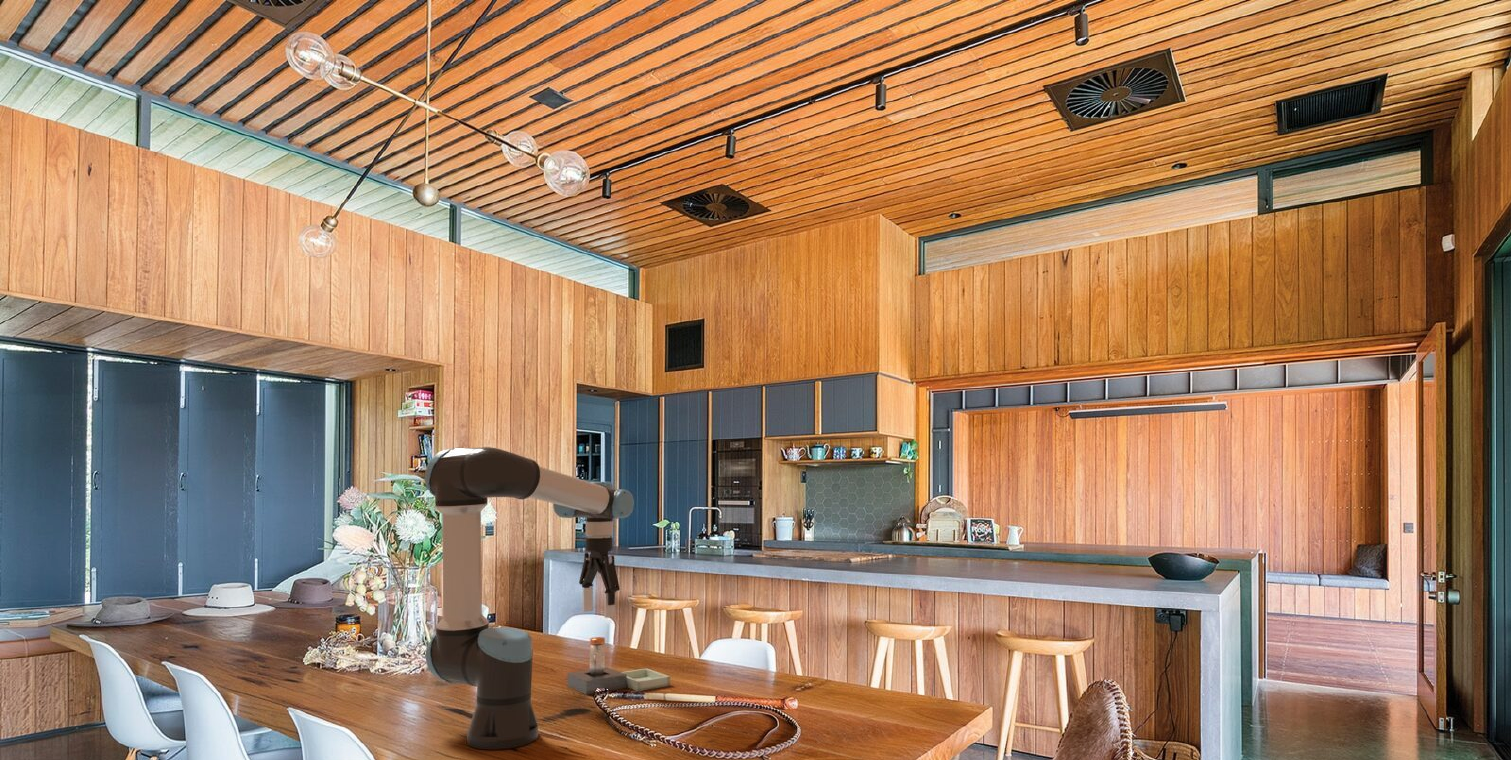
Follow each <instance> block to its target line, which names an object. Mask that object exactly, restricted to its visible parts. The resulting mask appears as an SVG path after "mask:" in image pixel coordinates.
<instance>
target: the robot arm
mask: <svg viewBox="0 0 1511 760" xmlns="http://www.w3.org/2000/svg"><path fill="white" fill-rule="evenodd" d="M424 485H425V488H426V489H427V491H429V493H430V494H431V495H432V496H434V501H435V502H434V503H435V505H434V507H435V508H436V509H437V510H438V511H439V512H440V513H441V515H442V520H441V521H442V523H441V524H442V529H441V531H442V534H441V535H442V618H441V619H440V621H439V622H438V623H437V624H436V625H435V633H433V635H431V637H430V641H429V642H428V643H427V645H426V649H425V663H426V666H427V668H428V671H429V672H430V673H431V674H432V675H433V676H434V677H435V678H436V679H438V680H441V681H444V682H446V683H448V684H454V685H456V684H457V685H463V686H469V687H476V705H475V708H474V711H473V714H472V716H471V721H470V723H469V727H468V729H467V733H466V734H467V735H466V744H467V746H469V747H471V748H474V749H478V750H494V751H495V750H506V749H512V748H513V749H514V748H518V747H523V746H526V745H528V744H531V743H532V742H534V741H536V740H537V739H538V738H539V724H538V721H537V718H536V714H535V711H534V708H533V705H532V704H533V703H532V678H533V657H534V656H533V655H534V654H533V653H534V650H533V644H532V643H533V642H532V641H533V640H532V637H531V635H530V634H529V633H528V632H527V631H526V630H525V631H524V630H522V629H519V628H515V627H503V626H500V627H499V626H498V627H497V626H495V627H490V625H489V623H490V620H489V619H487V618H486V616H484V615H483V604H482V603H483V601H482V599H483V597H482V595H483V593H482V592H483V590H482V588H483V587H482V586H483V585H482V581H483V580H482V520H481V519H482V516H481V515H482V511H483V510H484V509H485V508H486V506H488V498H489V499H490V498H514V499H516V500H517V499H518V500H526V499H529V498H531V499H535V500H539V501H542V502H547V503H550V504H553V505H552V509H553V511H554V513H555V514H556V516H558V517H559V518H563V519H572V518H585V536H586V538H585V551H586V552H585V553H584V556H583V557H584V558H583V559H584V560H583V564H582V568H581V573H580V577H579V582H578V583H579V585H581V587H582V612H583V613H584V612H591V611H593V610H594V609H593V608H594V607H593V606H594V599H593V598H594V584H593V583H594V580H595V578H596V575H597V573H599V574H600V576H601V580H602V583H603V585H604V588H605V590H604V618H606V619H607V618H614V617H616V593H617V592H618V591H620V589H621V588H620V583H619V578H618V573H617V570H616V565H615V556H614V555H609V552H611V551H613V548H614V545H613V544H614V540H613V539H614V538H613V537H612V535H613V531H614V524H613V523H614V519H616V520H618V519H625V518H628V517H630V515H631V514H632V512H633V510H634V506H635V500H634V496H633V494H632V493H631V492H630V491H629V490H627V489H621V488H618V489H614V485H613V482H611V481H587V480H584V479H581V478H577V477H573V476H570V475H568V474H565V473H561V472H558V471H555V470H552V469H548V468H545V467H543V466H542V467H541V466H540V464H539V463H538V462H537V461H536V460H534V459H532V458H528V457H525V456H521V455H519V454H517V453H513V452H510V451H507V450H504V449H500V448H497V447H492V446H491V447H490V446H483V447H453V448H447V449H443V450H440V451H438V452H437V453H436V454H435V455H434V456H433V457H432V458H431V459H430V460H429V462H428V463H427V465H426V468H425V472H424Z"/></svg>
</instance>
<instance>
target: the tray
mask: <svg viewBox="0 0 1511 760" xmlns="http://www.w3.org/2000/svg"><path fill="white" fill-rule="evenodd" d="M621 673H624V674H626V675H627V688H628V689H630V690H632V691H633V690H634V691H635V692H642V691H649V690H655V689H659V688H667V687H670V686H671V676H670V675H667V674H664V673H661V672H659V671H656V670H652V669H649V668H641V669H634V670H628V671H627V670H626V671H621Z"/></svg>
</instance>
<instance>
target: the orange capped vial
mask: <svg viewBox="0 0 1511 760" xmlns="http://www.w3.org/2000/svg"><path fill="white" fill-rule="evenodd" d="M589 639H590V641H589V670H590V676H591V677H596V676H602V675H604V667H605V664H606V663H605V662H606V661H605V657H606V655H605V652H606V648H605V647H606V638H605V637H604V636H603V637H601V636H599V637H598V636H597V637H595V636H594V637H591V638H589Z"/></svg>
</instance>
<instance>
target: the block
mask: <svg viewBox="0 0 1511 760" xmlns="http://www.w3.org/2000/svg"><path fill="white" fill-rule="evenodd" d="M621 672H622V671H621ZM621 672H620V671H618V670H616V669H613V668H610V667H607V666H604V675H602V676H596V677H591V676H590V669H585V670H578V671H573V672H568V673H567V684H566V685H567V687H569V688H571V689H573V690H575V691H577V692H580V693H582V694H584V695H592V694H593V695H594V694H595V693H594V691H595V689H597V688H606V689H608V690H610V691H616V690H621V689H623V690H624V689H626V688H628V687H627V675H626V674H624V673H621Z"/></svg>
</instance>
